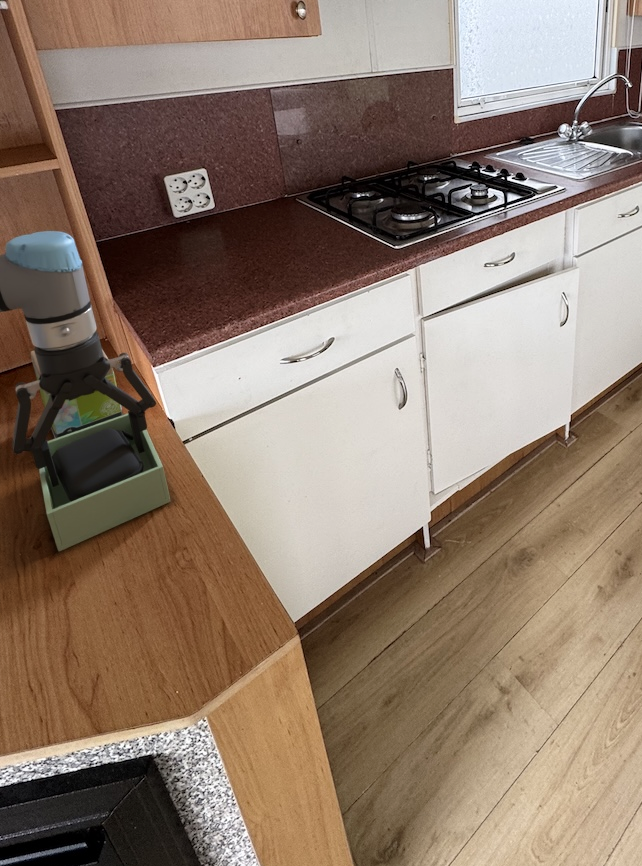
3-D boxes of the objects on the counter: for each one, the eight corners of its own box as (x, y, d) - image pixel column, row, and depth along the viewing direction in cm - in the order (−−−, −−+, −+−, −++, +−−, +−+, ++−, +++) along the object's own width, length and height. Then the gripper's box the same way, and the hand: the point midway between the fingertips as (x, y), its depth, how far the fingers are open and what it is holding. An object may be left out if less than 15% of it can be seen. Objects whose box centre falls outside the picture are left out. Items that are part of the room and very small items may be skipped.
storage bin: (58, 552, 81) (46, 514, 79) (45, 479, 94) (34, 445, 91) (170, 501, 90) (163, 466, 87) (144, 442, 102) (137, 409, 100)
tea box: (129, 434, 104) (113, 363, 99) (62, 461, 98) (40, 386, 93) (109, 397, 114) (93, 331, 109) (47, 419, 108) (26, 350, 103)
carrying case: (157, 475, 90) (126, 432, 99) (153, 459, 88) (122, 417, 98) (75, 515, 82) (50, 464, 91) (70, 498, 81) (45, 448, 90)
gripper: (-42, 379, 73) (5, 516, 80) (162, 324, 87) (186, 444, 94) (-42, 354, 78) (2, 485, 85) (150, 306, 92) (174, 421, 100)
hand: (99, 463), depth 90 cm, fingers closed on carrying case, 10 cm apart
